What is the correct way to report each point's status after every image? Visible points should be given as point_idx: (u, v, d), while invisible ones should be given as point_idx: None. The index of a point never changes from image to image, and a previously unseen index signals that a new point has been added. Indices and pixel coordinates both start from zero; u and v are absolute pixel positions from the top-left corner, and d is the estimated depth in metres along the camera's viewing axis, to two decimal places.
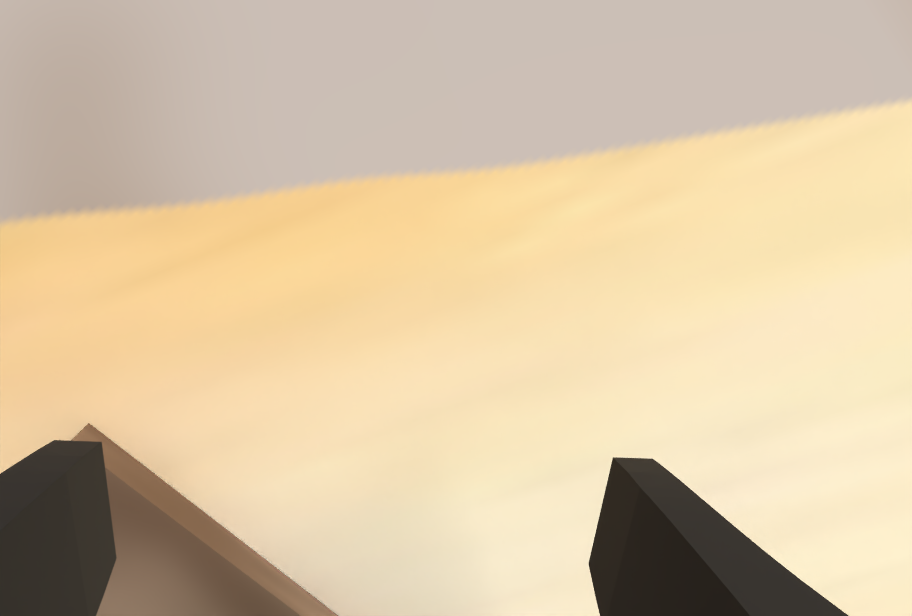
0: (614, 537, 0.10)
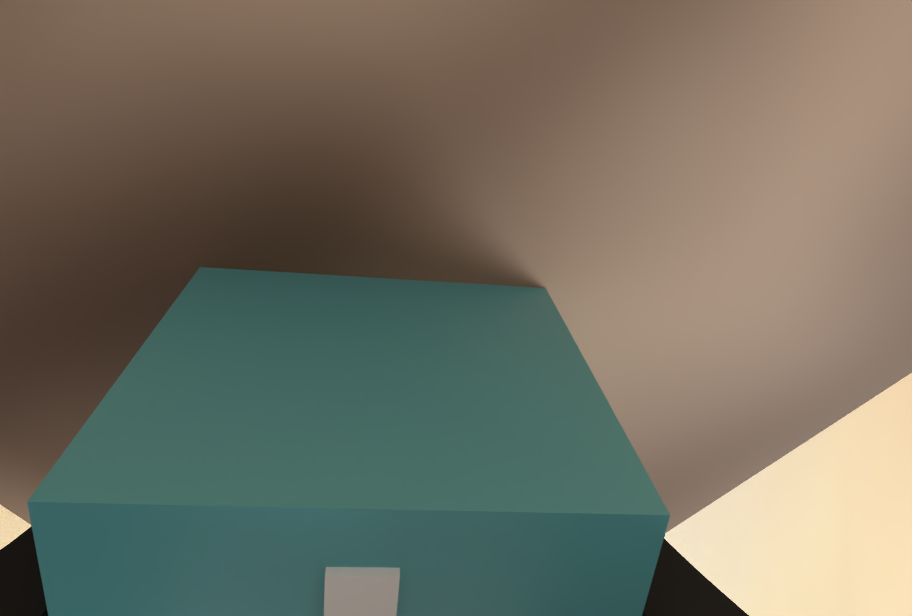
0: None
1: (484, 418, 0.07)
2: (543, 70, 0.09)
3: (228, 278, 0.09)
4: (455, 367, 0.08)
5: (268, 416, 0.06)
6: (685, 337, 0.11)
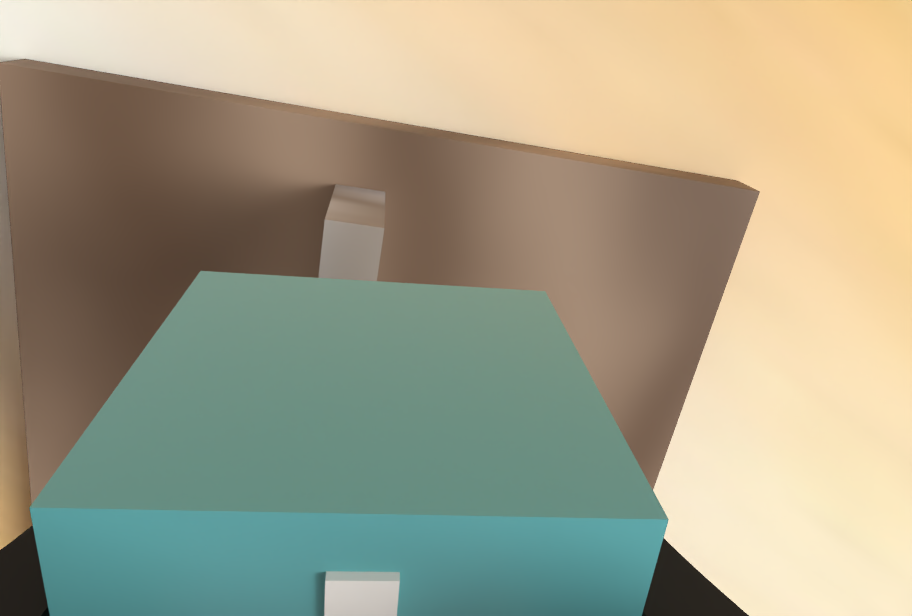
0: None
1: (483, 422, 0.07)
2: None
3: (229, 282, 0.09)
4: (455, 371, 0.08)
5: (269, 421, 0.06)
6: None
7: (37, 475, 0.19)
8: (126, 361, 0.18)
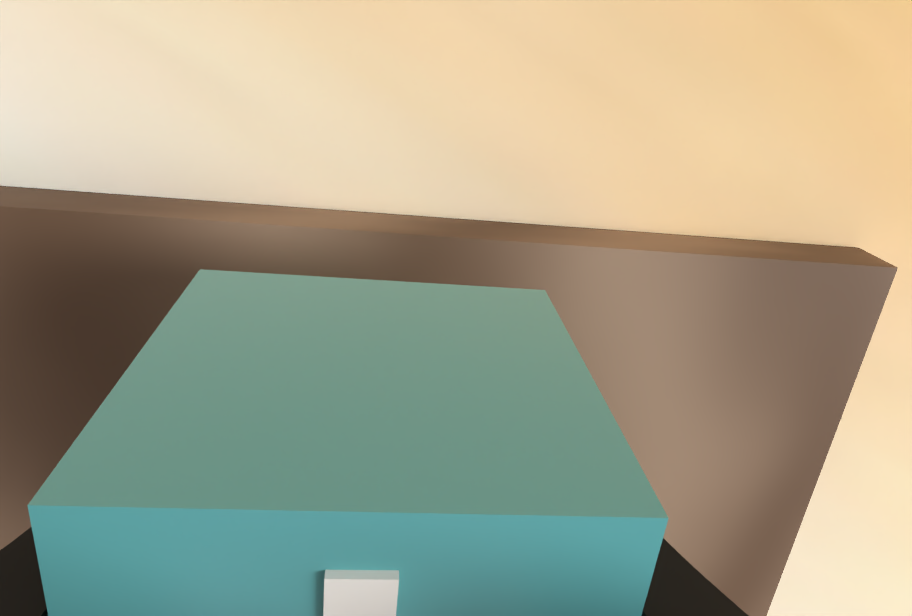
0: None
1: (482, 421, 0.07)
2: None
3: (227, 281, 0.09)
4: (454, 370, 0.08)
5: (268, 419, 0.06)
6: (672, 507, 0.15)
7: None
8: None
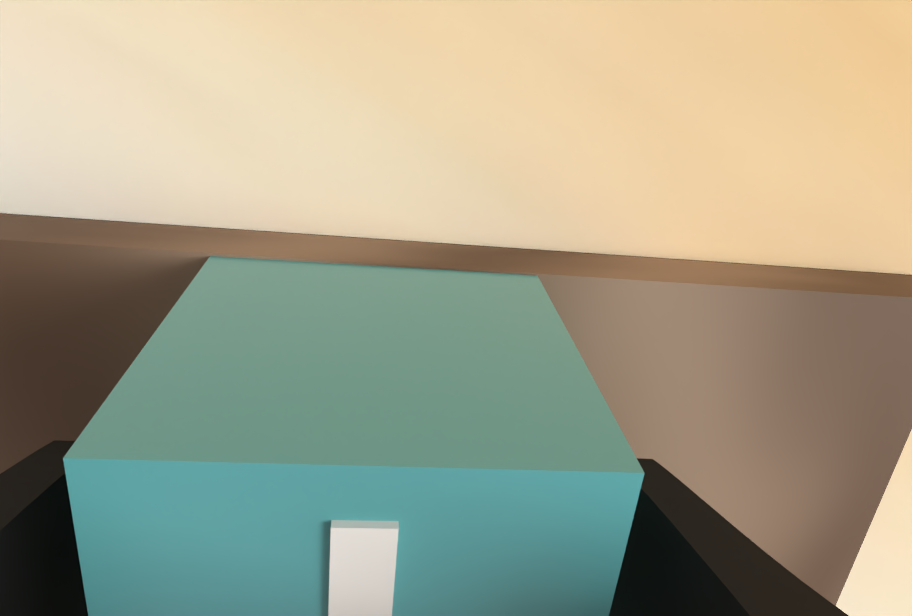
0: None
1: (475, 390, 0.07)
2: None
3: (237, 266, 0.10)
4: (450, 345, 0.08)
5: (277, 387, 0.07)
6: None
7: None
8: None
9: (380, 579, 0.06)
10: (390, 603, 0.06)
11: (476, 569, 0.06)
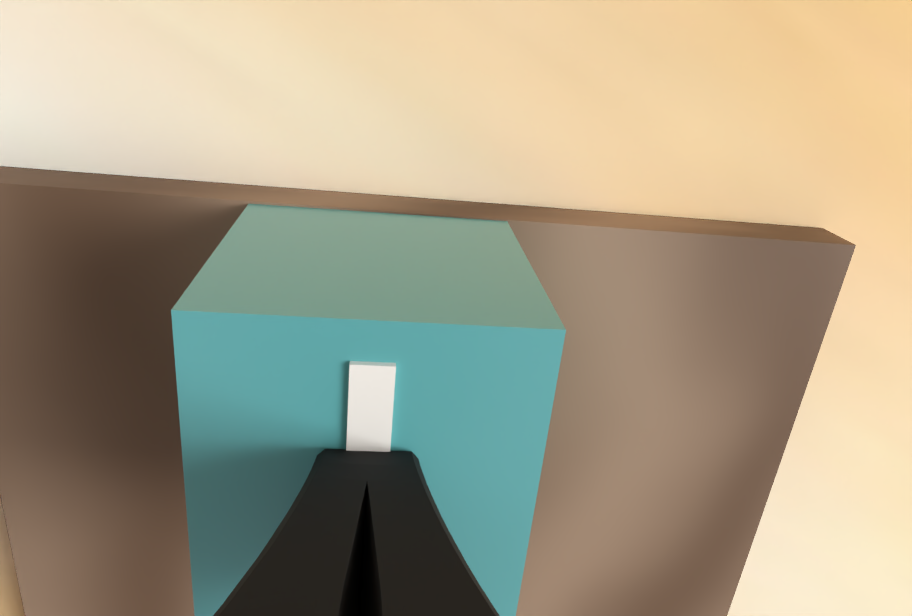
0: None
1: (452, 285, 0.10)
2: None
3: (270, 210, 0.13)
4: (435, 261, 0.11)
5: (309, 280, 0.10)
6: (651, 470, 0.16)
7: None
8: (122, 495, 0.15)
9: (383, 408, 0.09)
10: (390, 425, 0.09)
11: (450, 402, 0.09)
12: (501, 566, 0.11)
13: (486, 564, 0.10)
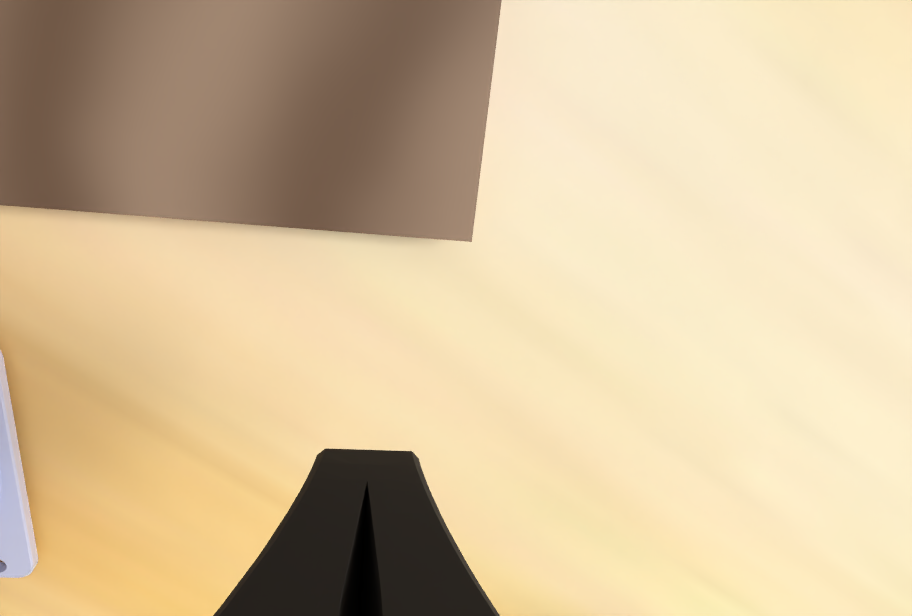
0: None
1: None
2: None
3: None
4: None
5: None
6: None
7: None
8: None
9: None
10: None
11: None
12: None
13: None
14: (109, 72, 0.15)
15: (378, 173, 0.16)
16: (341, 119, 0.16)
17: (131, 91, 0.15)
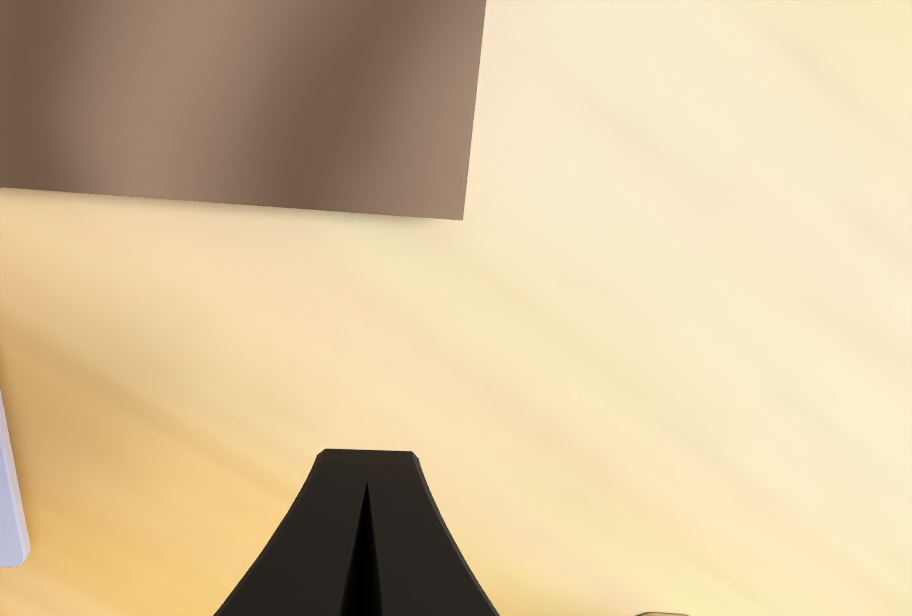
0: None
1: None
2: None
3: None
4: None
5: None
6: None
7: None
8: None
9: None
10: None
11: None
12: None
13: None
14: (92, 49, 0.14)
15: (366, 151, 0.16)
16: (328, 95, 0.15)
17: (114, 68, 0.15)
